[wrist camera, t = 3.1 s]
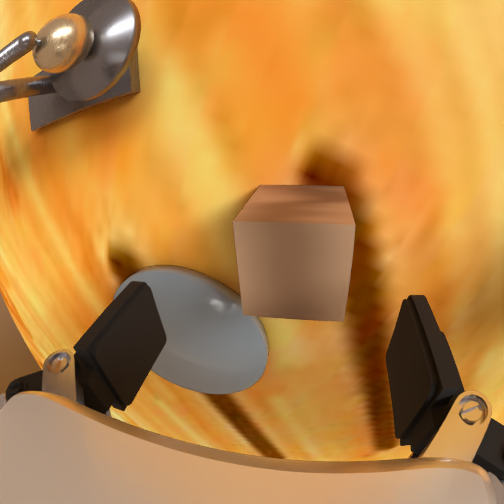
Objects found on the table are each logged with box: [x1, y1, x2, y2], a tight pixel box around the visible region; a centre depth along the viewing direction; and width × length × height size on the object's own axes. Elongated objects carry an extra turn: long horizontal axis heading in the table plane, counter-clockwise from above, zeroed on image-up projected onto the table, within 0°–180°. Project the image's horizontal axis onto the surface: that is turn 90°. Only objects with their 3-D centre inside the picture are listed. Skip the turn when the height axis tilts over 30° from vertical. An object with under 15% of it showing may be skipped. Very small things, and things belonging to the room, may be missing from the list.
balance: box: [0, 0, 141, 131], centre depth 10 cm, size 20×6×13 cm, turn 93°
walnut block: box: [233, 185, 355, 322], centre depth 15 cm, size 5×5×6 cm
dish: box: [113, 265, 269, 394], centre depth 24 cm, size 15×15×1 cm
